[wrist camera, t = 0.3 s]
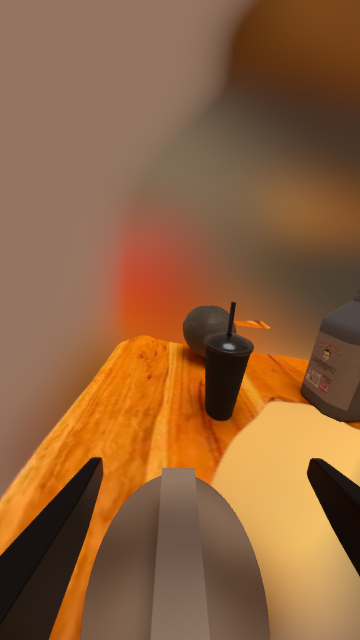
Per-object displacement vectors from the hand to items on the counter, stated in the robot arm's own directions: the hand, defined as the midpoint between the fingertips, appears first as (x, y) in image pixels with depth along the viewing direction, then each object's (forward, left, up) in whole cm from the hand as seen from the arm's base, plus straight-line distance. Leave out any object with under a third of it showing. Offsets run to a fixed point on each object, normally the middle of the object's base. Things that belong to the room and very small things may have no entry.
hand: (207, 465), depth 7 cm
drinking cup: (+20, -7, -17) cm, 27 cm away
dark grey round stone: (+39, -8, -17) cm, 43 cm away
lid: (+1, +1, -12) cm, 12 cm away
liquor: (+22, -30, -17) cm, 41 cm away
